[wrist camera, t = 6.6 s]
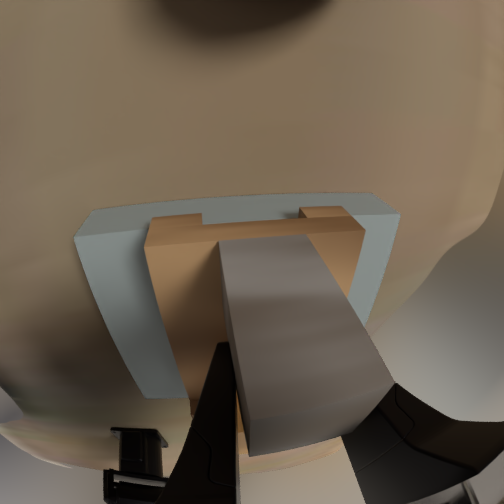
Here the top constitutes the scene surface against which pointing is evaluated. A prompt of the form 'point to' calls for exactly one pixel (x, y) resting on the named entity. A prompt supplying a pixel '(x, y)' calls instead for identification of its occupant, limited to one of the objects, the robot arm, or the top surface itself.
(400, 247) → the top surface
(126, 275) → the pale grey flat slab
